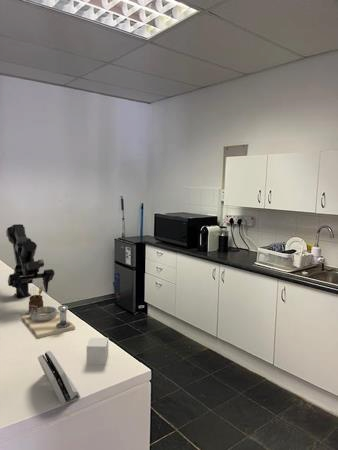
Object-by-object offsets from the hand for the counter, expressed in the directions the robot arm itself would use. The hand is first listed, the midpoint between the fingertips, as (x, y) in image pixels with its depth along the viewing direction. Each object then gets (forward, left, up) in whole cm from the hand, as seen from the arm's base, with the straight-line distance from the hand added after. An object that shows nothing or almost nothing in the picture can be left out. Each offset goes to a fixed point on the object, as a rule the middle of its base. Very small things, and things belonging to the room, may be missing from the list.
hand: (36, 293), depth 145 cm
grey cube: (+52, +4, -9) cm, 53 cm away
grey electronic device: (+59, -12, -9) cm, 60 cm away
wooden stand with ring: (+15, 0, -8) cm, 17 cm away
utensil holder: (0, 0, -8) cm, 8 cm away
